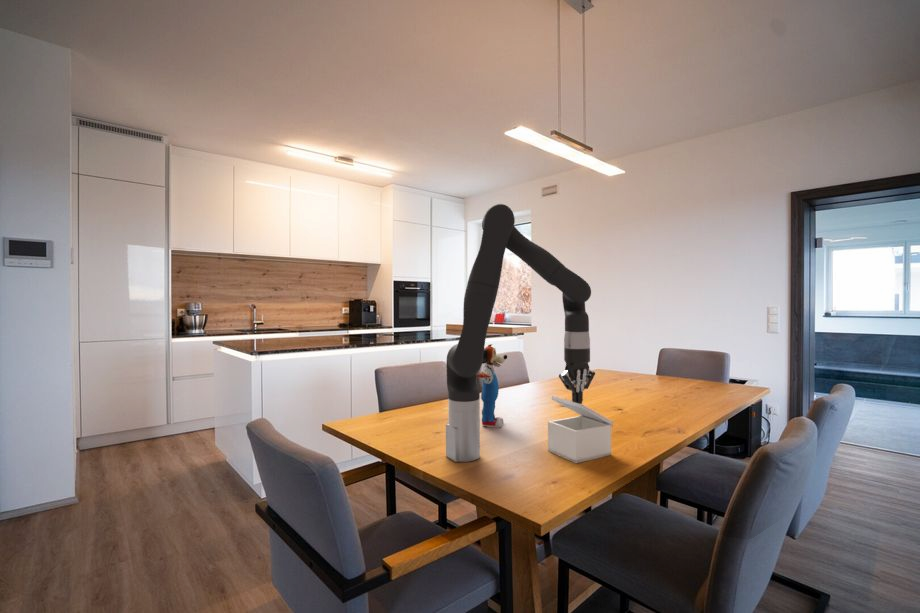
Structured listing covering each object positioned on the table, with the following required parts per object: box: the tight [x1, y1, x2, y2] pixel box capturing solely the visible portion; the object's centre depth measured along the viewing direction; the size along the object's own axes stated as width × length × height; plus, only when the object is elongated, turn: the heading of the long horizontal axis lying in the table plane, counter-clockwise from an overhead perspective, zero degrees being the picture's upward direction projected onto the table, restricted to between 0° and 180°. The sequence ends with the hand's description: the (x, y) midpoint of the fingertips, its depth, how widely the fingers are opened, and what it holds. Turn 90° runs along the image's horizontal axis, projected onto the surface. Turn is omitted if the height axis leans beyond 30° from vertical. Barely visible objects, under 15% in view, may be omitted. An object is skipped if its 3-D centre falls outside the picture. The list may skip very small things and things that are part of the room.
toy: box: [476, 344, 508, 428], centre depth 160 cm, size 34×10×30 cm, turn 168°
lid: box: [550, 395, 614, 426], centre depth 130 cm, size 14×13×1 cm
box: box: [547, 415, 612, 464], centre depth 130 cm, size 14×12×9 cm
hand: (577, 403), depth 130 cm, fingers closed
